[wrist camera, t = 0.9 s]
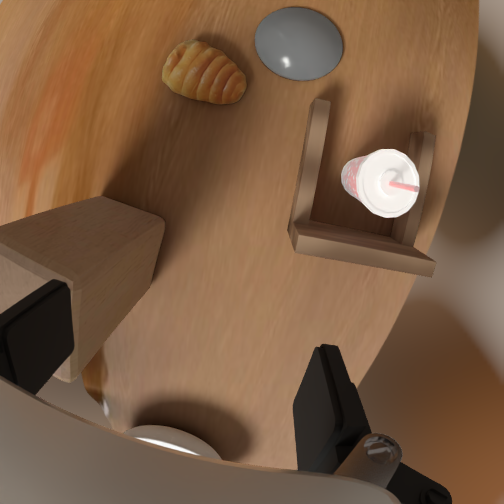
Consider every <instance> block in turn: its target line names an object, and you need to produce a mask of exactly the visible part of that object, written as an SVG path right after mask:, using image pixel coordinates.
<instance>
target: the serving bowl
mask: <svg viewBox="0 0 504 504" xmlns="http://www.w3.org/2000/svg"><path fill="white" fill-rule="evenodd" d="M122 434H125V435H128V436H131V437H134V438H137V439H140V440H143V441H147V442H150V443H153V444H157V445H160V446H164V447H167V448H171V449H175V450H179V451H182V452H187V453H191V454H195V455H199V456H204V457H209V458H214V459H219V460H222V459H221V458H220V456H219V455H218V453H217V452H216V451H215V450H214V449H213V448H212V447H211V446H209V445H208V444H207V443H205V442H204V441H202V440H201V439H199V438H197V437H196V436H194V435H192V434H189V433H187V432H184V431H182V430H178V429H175V428H171V427H166V426H159V425H144V426H138V427H134V428H131V429H129V430H127V431H125V432H124V433H122Z"/></svg>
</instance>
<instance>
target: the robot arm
mask: <svg viewBox="0 0 504 504" xmlns="http://www.w3.org/2000/svg"><path fill="white" fill-rule="evenodd" d="M74 347H75V343H74V333H73V322H72V309H71V291H70V288H69V287H68V285H67V283H66V282H63V281H60V280H57V279H52V280H50V281H49V282H47V283H46V284H44V285H43V286H41V287H40V288H38V289H36V290H35V291H33V292H32V293H30V294H29V295H27V296H26V297H24V298H23V299H21V300H20V301H18V302H17V303H16V304H14V305H13V306H11V307H10V308H8V309H7V310H5V311H4V312H3V313H1V314H0V504H452V498H451V495H450V493H449V492H448V490H447V489H446V488H445V487H443V486H442V485H441V484H438V483H437V482H435V481H433V480H431V479H429V478H428V477H426V476H424V475H422V474H420V473H419V472H417V471H415V470H413V469H412V468H410V467H408V466H407V465H405V464H403V463H401V459H402V449H401V447H400V445H399V444H398V443H397V442H396V441H395V440H394V439H393V438H391V437H389V436H387V435H384V434H380V433H372V432H371V429H370V426H369V424H368V420H367V418H366V415H365V412H364V409H363V406H362V403H361V400H360V398H359V395H358V392H357V389H356V386H355V385H354V383H352V382H351V381H350V378H349V375H348V373H347V370H346V367H345V364H344V361H343V359H342V356H341V353H340V350H339V348H338V346H335V345H328V344H321V346H320V347H316V348H315V349H314V351H313V354H312V357H311V359H310V362H309V365H308V367H307V370H306V372H305V375H304V377H303V380H302V382H301V385H300V387H299V390H298V392H297V395H296V397H295V399H294V403H293V417H294V428H295V440H296V452H297V464H298V470H289V469H279V468H270V467H262V466H255V465H249V464H242V463H236V462H230V461H224V460H219V459H214V458H209V457H204V456H199V455H195V454H191V453H187V452H182V451H179V450H175V449H171V448H167V447H164V446H160V445H157V444H153V443H150V442H147V441H143V440H140V439H137V438H134V437H131V436H128V435H125V434H122V433H119V432H117V431H114V430H111V429H109V428H106V427H103V426H101V425H98V424H96V423H93V422H91V421H88V420H86V419H84V418H81V417H79V416H77V415H74V414H72V413H70V412H68V411H66V410H63V409H61V408H59V407H57V406H55V405H53V404H51V403H49V402H47V401H45V400H43V399H41V398H39V397H37V396H35V395H36V394H37V393H38V391H39V390H40V389H41V388H42V387H43V386H44V384H45V383H46V382H47V381H48V380H49V379H50V377H51V376H52V375H53V374H54V373H55V372H56V371H57V369H58V368H59V367H60V366H61V365H62V364H63V363H64V361H65V360H66V359H67V358H68V357H69V356H70V355H71V354H72V352H73V350H74Z"/></svg>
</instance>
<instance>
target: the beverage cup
mask: <svg viewBox="0 0 504 504" xmlns="http://www.w3.org/2000/svg"><path fill="white" fill-rule="evenodd" d="M341 180H342V184H343V186H344V189H345V190H346V191H347V192H348V193H349V194H350V195H352V196H353V197H355V198H356V199H358V200H359V201H361V202H362V203H363V204H364V205H365V206H366V207H367V208H368V209H369V210H370V211H371V212H372V213H374V214H377V215H379V216H382V217H384V218H391V217H398V216H400V215H402V214H404V213H406V212H407V211H408V210H409V209H410V208H411V207H412V205H413V204H414V203H415V202H416V199H417V195H418V192H419V175H418V172H417V170H416V167H415V165H414V163H413V162H412V161H411V160H410V159H409V158H408V157H407V155H406V154H404V153H401V152H399V151H397V150H395V149H380V150H377V151H375V152H373V153H371V154H369V155H366V156H362V157H358V158H355V159H352V160H350V161H348V162H347V164H346V165H345V166H344V167H343V170H342V173H341Z"/></svg>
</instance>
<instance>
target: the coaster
mask: <svg viewBox="0 0 504 504" xmlns="http://www.w3.org/2000/svg"><path fill="white" fill-rule="evenodd" d="M255 47H256V51H257V54H258V56H259V58H260V60H261V61H262V62H263V64H264V65H265V66H266V67H267V68H268V69H270V70H271V71H272V72H274V73H275V74H277V75H279V76H281V77H284V78H287V79H290V80H296V81H310V80H315V79H318V78H321V77H323V76H325V75H327V74H328V73H330V72H331V71H332V70H333V69H334V68H335V67H336V65H337V64H338V62H339V61H340V58H341V56H342V51H343V45H342V39H341V36H340V34H339V32H338V30H337V28H336V27H335V26H334V25H333V23H332V22H331V21H330V20H328V19H327V18H326V17H324V16H323V15H321V14H319V13H317V12H315V11H312V10H309V9H306V8H298V7H291V8H284V9H280V10H277V11H275V12H273V13H271V14H269V15H268V16H267V17H265V18H264V19H263V20H262V22H261V23H260V24H259V26H258V28H257V31H256V34H255Z"/></svg>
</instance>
